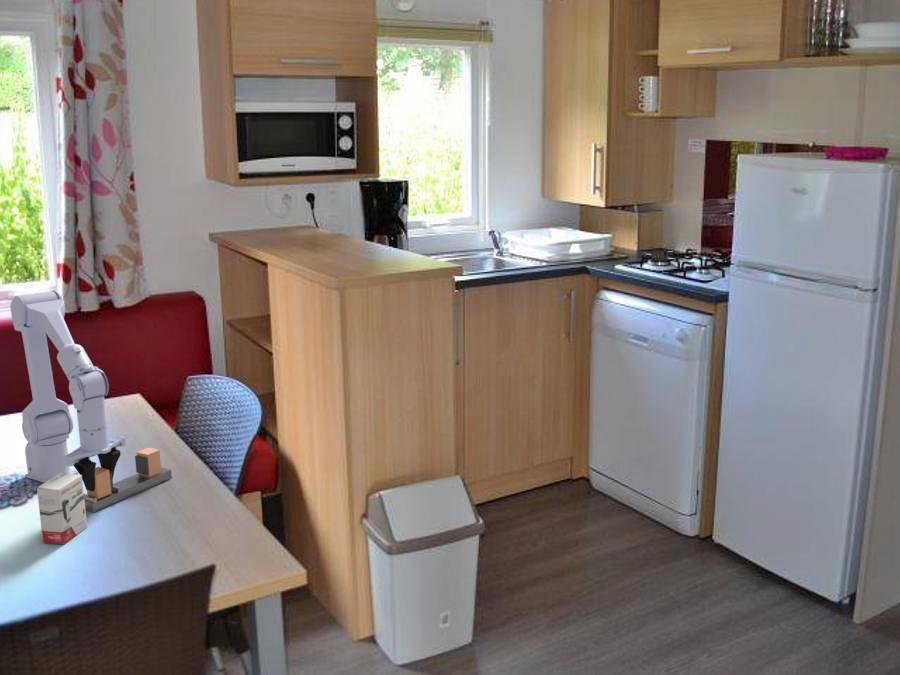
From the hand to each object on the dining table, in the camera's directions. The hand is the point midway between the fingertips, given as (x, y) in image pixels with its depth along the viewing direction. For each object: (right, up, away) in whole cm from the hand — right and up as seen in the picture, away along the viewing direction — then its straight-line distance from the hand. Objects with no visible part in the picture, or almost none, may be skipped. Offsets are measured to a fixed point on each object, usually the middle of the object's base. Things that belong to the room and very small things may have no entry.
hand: (99, 486), depth 205 cm
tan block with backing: (0, -2, 0) cm, 2 cm away
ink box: (-2, -8, -14) cm, 16 cm away
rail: (+4, -2, +7) cm, 8 cm away
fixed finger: (+7, +1, +12) cm, 14 cm away
